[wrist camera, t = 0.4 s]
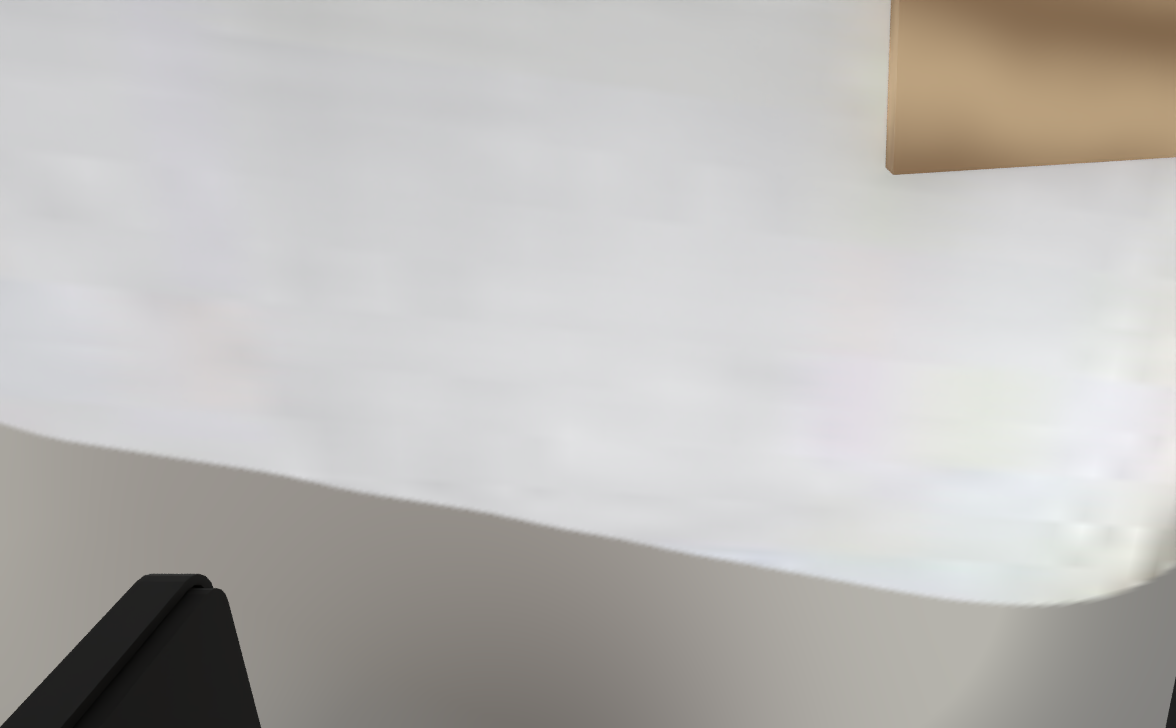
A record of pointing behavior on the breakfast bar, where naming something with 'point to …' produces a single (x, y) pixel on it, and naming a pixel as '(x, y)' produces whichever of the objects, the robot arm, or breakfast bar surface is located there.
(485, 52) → the breakfast bar surface
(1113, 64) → the plank
